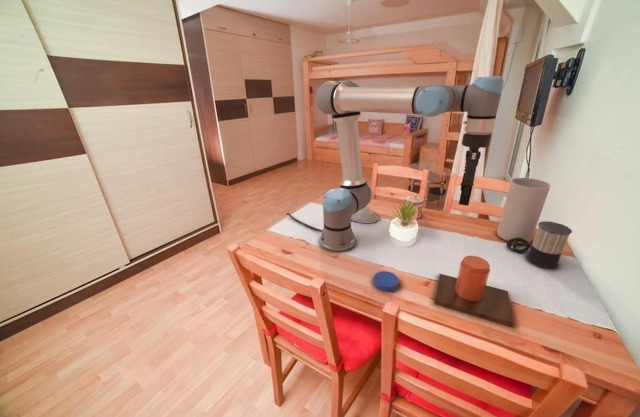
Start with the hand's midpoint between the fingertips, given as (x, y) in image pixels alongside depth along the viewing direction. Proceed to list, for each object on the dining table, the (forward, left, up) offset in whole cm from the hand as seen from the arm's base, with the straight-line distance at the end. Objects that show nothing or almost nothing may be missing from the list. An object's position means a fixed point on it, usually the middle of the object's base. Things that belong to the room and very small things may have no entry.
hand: (464, 197), depth 89 cm
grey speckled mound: (-47, +24, -27) cm, 59 cm away
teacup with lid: (-20, +37, -27) cm, 50 cm away
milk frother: (+27, +17, -27) cm, 42 cm away
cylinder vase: (+23, +31, -27) cm, 47 cm away
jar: (+6, -17, -25) cm, 31 cm away
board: (+7, -18, -27) cm, 33 cm away
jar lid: (-19, -22, -25) cm, 39 cm away
